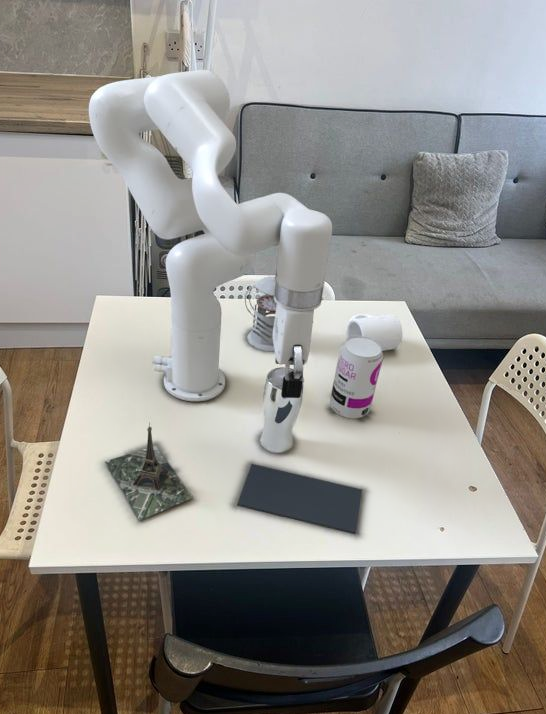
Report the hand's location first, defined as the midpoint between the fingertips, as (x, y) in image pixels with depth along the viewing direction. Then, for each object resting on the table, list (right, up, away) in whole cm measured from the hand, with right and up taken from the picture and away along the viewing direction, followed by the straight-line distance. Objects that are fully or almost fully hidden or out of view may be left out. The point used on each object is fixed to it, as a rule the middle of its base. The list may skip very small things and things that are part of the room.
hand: (287, 379), depth 110 cm
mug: (+21, +9, +39) cm, 45 cm away
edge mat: (+2, -20, -1) cm, 20 cm away
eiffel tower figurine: (-24, -18, -1) cm, 30 cm away
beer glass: (-1, -12, +10) cm, 15 cm away
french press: (-3, +11, +37) cm, 39 cm away
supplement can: (+14, -5, +20) cm, 24 cm away
